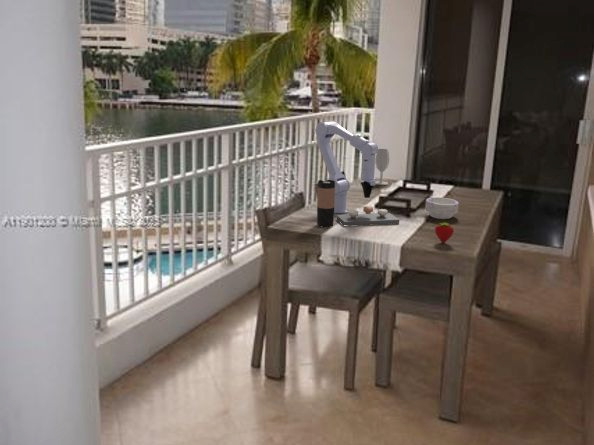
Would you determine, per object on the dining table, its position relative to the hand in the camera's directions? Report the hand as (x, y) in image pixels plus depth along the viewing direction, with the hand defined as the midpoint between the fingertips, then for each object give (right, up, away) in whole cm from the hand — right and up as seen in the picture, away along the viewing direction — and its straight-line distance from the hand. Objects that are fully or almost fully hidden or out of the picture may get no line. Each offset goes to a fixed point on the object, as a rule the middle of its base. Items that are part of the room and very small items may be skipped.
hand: (366, 197), depth 273 cm
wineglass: (+18, +11, +77) cm, 79 cm away
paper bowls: (+36, -9, +6) cm, 38 cm away
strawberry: (+27, -20, -35) cm, 48 cm away
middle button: (0, -8, -6) cm, 10 cm away
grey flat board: (0, -11, -5) cm, 13 cm away
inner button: (-7, -9, -8) cm, 14 cm away
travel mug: (-20, -13, -13) cm, 27 cm away
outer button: (+6, -9, -5) cm, 12 cm away
